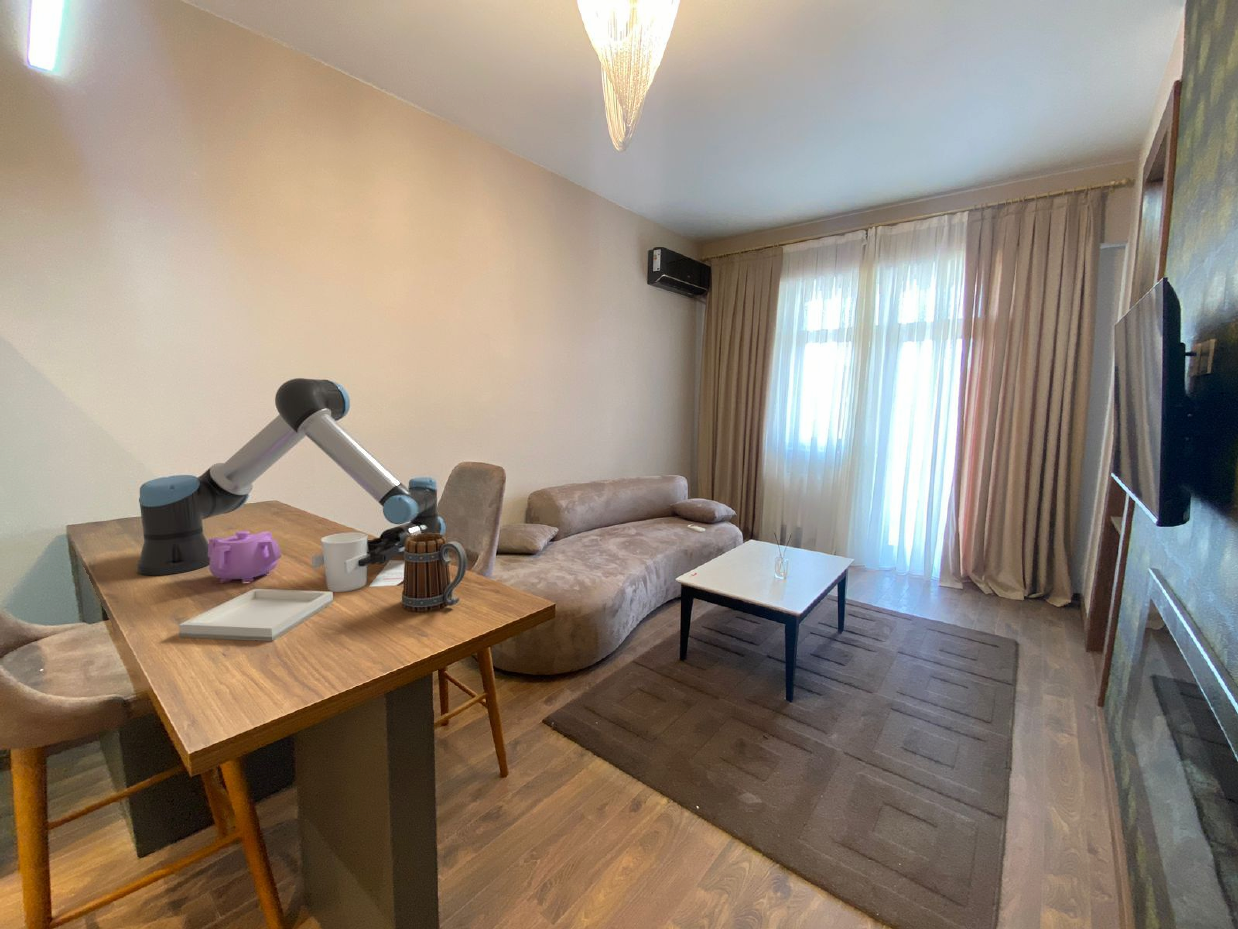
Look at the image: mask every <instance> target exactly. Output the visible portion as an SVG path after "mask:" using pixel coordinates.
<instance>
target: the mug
mask: <svg viewBox="0 0 1238 929" xmlns="http://www.w3.org/2000/svg"><path fill="white" fill-rule="evenodd" d="M449 549H452V550H454V552H455V553H456V556H457V560H458V566H457V572H456V575H455V577H454V579H453V580H452V582H451V573H450V565H449V564H450V562H451V561H452V559H451V558H450V556H449ZM403 560H404V563H403V564H404V566H403V587H402V589H403V590H402V593H401V602H402V606H403V608H405V609H406V610H408V611H411V612H415V613H425V612H426V613H427V612H433V611H437V610H440V609H443V608H445V607H447V606H449V607H452V606H454V605H456V604H457V603H459V601H460V596H456V595H455V596H453V591H454V590H455V588H456V587H458V585H459V584H460V583H461V582H462V580H463V579H464V577H465V574H466V572H467V565H468V562H467V560H468V559H467V553H466V550H465V549H464V547H463V546H462V544H461V543H459V542H458V541H453V540H452V541H448V542H447V539H446V536H445V534H444V535H443V534H440V533H435V534H433V533H426V535H425V534H424V533H421V534H417V536H416V535H412V536H410V537H407V539H406V541H405V549H404V554H403Z"/></svg>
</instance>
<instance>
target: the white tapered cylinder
mask: <svg viewBox="0 0 1238 929" xmlns="http://www.w3.org/2000/svg"><path fill="white" fill-rule="evenodd" d="M368 537H369V534H367V533H365V532H362V531H361V532H360V531H359V532H358V531H347V532H337V533H333V534H329V535H326V536H323V537H322V538H321V539H320V543H321V544H320V545H321V548H322V553H323V559H324V565H323V567H324V574H325V581H326V586H327V587H326V588H327V590H329V592H333V593H334V592H335V593H344V592H350V591H352V592H353V591H355V590H359V589H361V588H363V587H364V586H366V584H367V582H368V581H367V578H368V565H367V566H365V567H362V568H359V569H357V570H354V571H352V572H349V573H344V561H346V560H349V559H352V558H355V557H359V556H362V555H364V554H366V553H367V552H368V546H367V541H368V539H369V538H368Z"/></svg>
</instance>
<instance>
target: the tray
mask: <svg viewBox="0 0 1238 929" xmlns="http://www.w3.org/2000/svg"><path fill="white" fill-rule="evenodd" d="M333 593H334V592H333V591H322V590H321V591H320V590H319V591H318V590H299V589H298V590H297V589H296V590H294V589H272V588H271V589H269V588H268V589H267V588H253V589H252V590H249V591H246V592H244V593H242V594H240V595H238V596H236V597H233V598H232V599H230V600H228V601H226V602H224V603H221V604H220V605H216V606H215V607H213V608H210V609H209V610H206V611H204V612H202V613H200V614H199V615H196V616H194V617H192V618H190V619H188V620H186V621H184V622H182V623H180V624H178V626H179V636H180V638H190V639H191V638H194V639H209V640H210V639H212V640H213V639H214V640H234V641H236V640H237V641H255V640H257V642H258V641H260V642H262V641H264V642H273V641H276V640H277V639H278V638H280V637H282V636H284V635H285V634H286V633H288V632H290V631H291V630H292V629H294V628H296V627H297V626H299V625H300V623H301V624H302V623H303V622H305V621H306V619H307V620H308V619H311V616H312V617H313V616H314V614H315V615H316V614H318V613H319V612H321V611H323V610H324V609H326V608H327V607H329V606H330V605H332V604H333V603H334V594H333ZM332 602H333V603H332ZM331 603H332V604H331ZM326 606H327V607H326ZM325 607H326V608H325Z"/></svg>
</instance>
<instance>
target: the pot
mask: <svg viewBox="0 0 1238 929" xmlns="http://www.w3.org/2000/svg"><path fill="white" fill-rule="evenodd" d="M208 545H209V546H208V557H209V558H210V564H209V572H210V573H211V574H212V575H213V576H214V577H215V578H217V579H220V581H219V583H220V582H225V583H229V582H231V581H232V580H240V579H241V583H242V582H251V581H253V580H254V578H257V577H259V576H268V575H267V574H269V573H270V572H271V571H272V570H274V569H276V567H277V565H278V562H279V559H280V558H282V554H281V550H280V547H279V544H278V540H277V539H273V535H272V532H271V531H262V532H260V533H258V534H257V533H250V531H248V530H241V531H238V532H235V535H231V536H229V537H225V538H223V537H213V538H210V539H209V540H208ZM269 575H270V574H269ZM230 580H231V581H230ZM228 581H229V582H228ZM253 582H254V581H253ZM251 583H252V582H251Z"/></svg>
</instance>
